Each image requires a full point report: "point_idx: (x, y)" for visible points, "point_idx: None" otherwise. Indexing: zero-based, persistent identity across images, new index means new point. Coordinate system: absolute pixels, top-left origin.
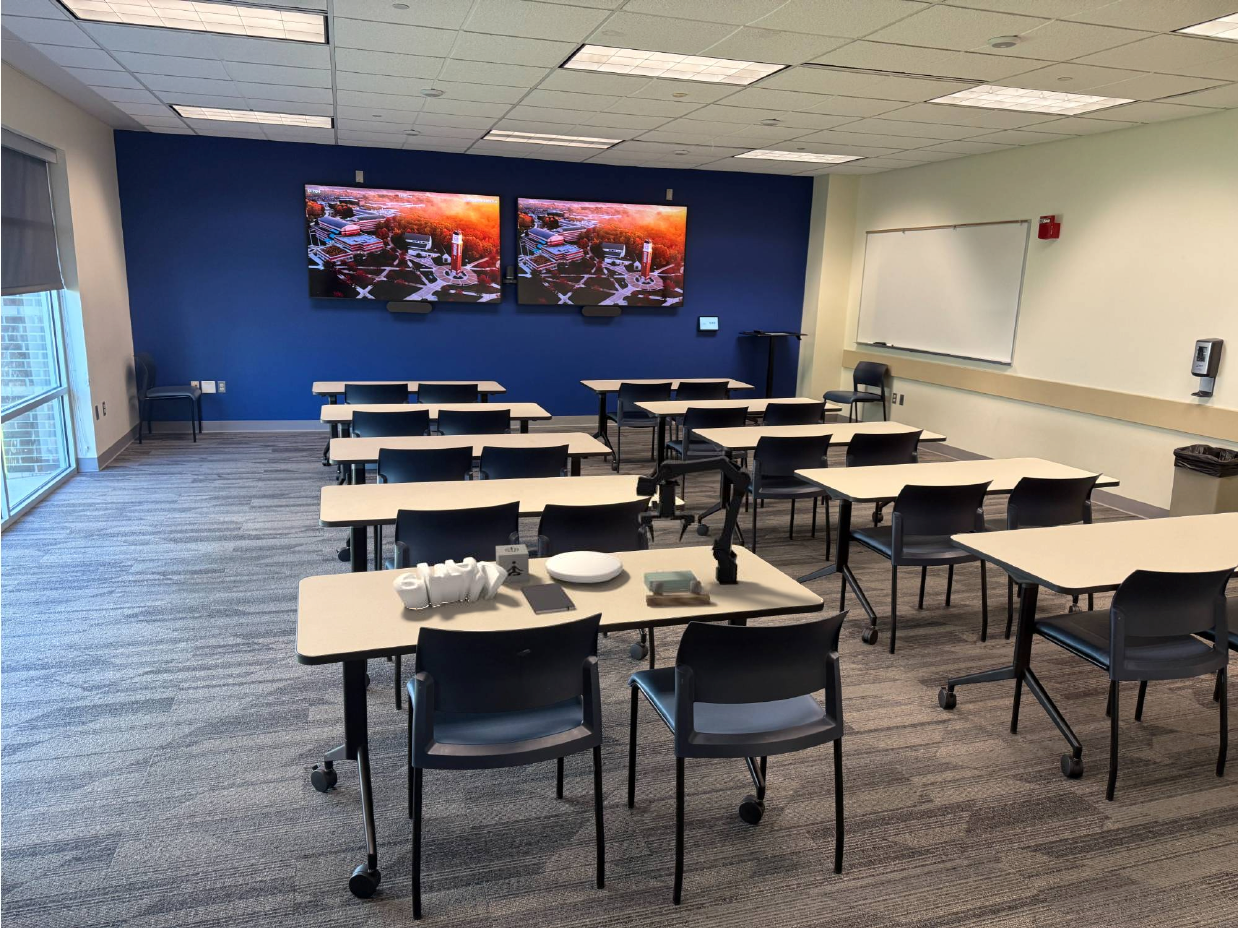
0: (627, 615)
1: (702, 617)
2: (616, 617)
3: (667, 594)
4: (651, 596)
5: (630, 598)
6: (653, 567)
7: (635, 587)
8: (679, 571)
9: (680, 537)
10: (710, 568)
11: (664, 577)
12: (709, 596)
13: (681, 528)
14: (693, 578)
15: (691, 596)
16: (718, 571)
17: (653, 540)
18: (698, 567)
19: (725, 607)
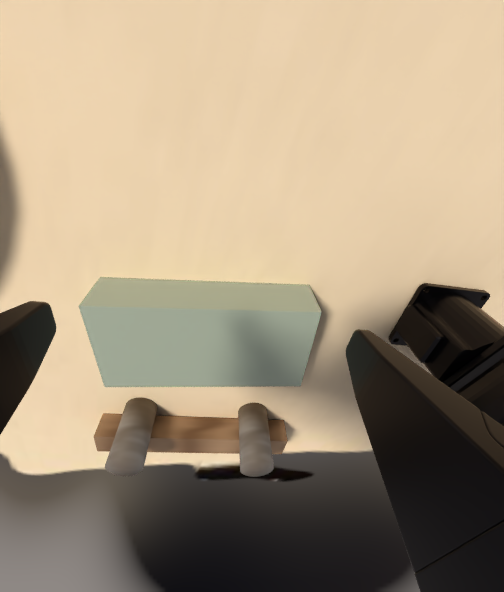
0: (52, 459)
1: (231, 472)
2: (23, 463)
3: (164, 438)
4: (111, 443)
5: (49, 389)
6: (179, 22)
7: (60, 315)
8: (264, 316)
9: (365, 410)
10: (501, 151)
11: (174, 364)
12: (279, 453)
13: (438, 559)
14: (288, 383)
15: (231, 450)
16: (418, 356)
17: (35, 359)
18: (457, 114)
19: (304, 446)
